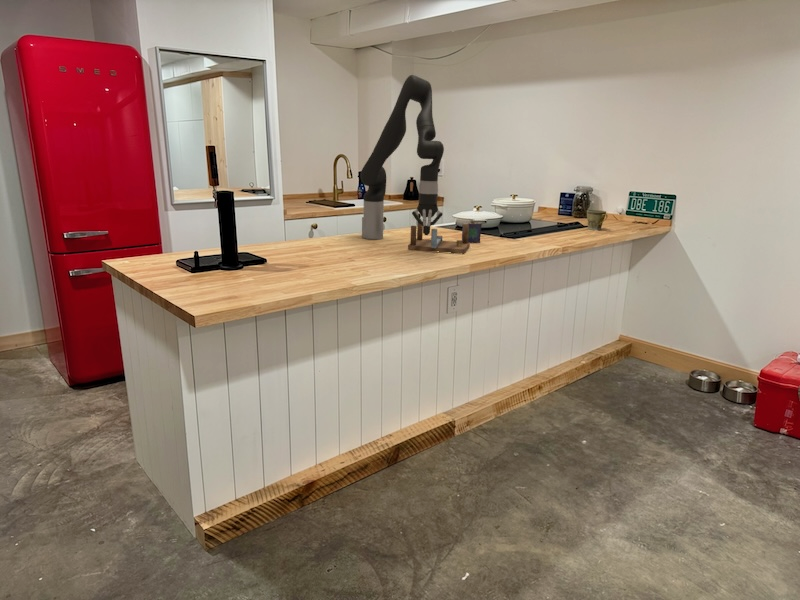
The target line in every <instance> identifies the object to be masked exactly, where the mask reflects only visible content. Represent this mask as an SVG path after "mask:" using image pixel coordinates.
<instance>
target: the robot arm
mask: <svg viewBox="0 0 800 600" xmlns="http://www.w3.org/2000/svg"><path fill="white" fill-rule="evenodd" d="M410 100H411V101H414V102H416V103H419V105H420V108H421V109H420V112H419V113H418V114H417V117H416V121H415V123H416V124H415V125H416V131H417V136H418V138H417V139H418V140H417V146H416V154H417V156H418V158H420V159H422V160H432V161H431V163H429V164H426V165H422V166H421V167H420V173H419V174H420V175H419V176H420V177H419V185H418V204H417V205H418V206H417V208H416V209H415V210H412V212H411V214H412V216H413V218H415V220H416V221H417V224H418V223H419V224H421V225H423V235H424V236H428V235H429V234H431V226H434V225H436V223H437V222H438V221H439V220H440V218H442V216H443V212H441V211H440V210H439V207H438V197H439V196H438V193H439V183H438V181H439V178H438V177H439V169H440V165H441V161H442V158H443V155H444V151H445V147H444V144H443V143H442V141H440V140H434V139H435V138H436V134H437V132H436V129H435V128H436V126H435V123H434V118H433V89H432V84H431V83H430V81H428V80H427V79H423V78H421V77H419V76H417V75H414V74H411V75H408V76H407V78H406V79H405V80H404V82H403V84H402V87H401V90H400V92H399V95H398V97H397V100H396V102H395V104H394V107H393V109H392V112H391V113H390V115H389V118H388V120H387V122H386V124H385V125H384V127H383V129H382V131H381V134H380V136H379V138H378V140H377V142H376V144H375V146H374V149H373V151H372V152H371V153H370V155H369V157H368V159H367V161H366V162H365V163H364V165H363V167H362V168H361V171H360V182H361V183H362V184H363V185H364V186H366V187H367V188H368V189H367V191H366V192H365V193H364V194H363V217H361V238H362V239H366V240H381V239H384V211H385V210H384V208H385V207H384V204H385V203H384V198H385V195H386V190H387V171H386V169H385V167H383V166H384V164H385V162H386V161H387V159H388V158H390V156H392V155H393V153H394V152H395V151H396V150H397V148H399V147H400V145H401V143H402V141H403V139H404V137H405V135H406V133H407V118H406V117H407V116H406V112H407V108H408V105H409V103H410ZM435 214H436V217H435V218H434V219H433V220H432V218H433V217H434V216H435ZM419 215H420V216H421V217H422V219H421V218H420V217H419Z"/></svg>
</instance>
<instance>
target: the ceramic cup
mask: <svg viewBox="0 0 800 600" xmlns="http://www.w3.org/2000/svg"><path fill="white" fill-rule="evenodd" d="M586 218H587V230H588V229H589V231H595V230H599V231H601V230H602V226H603V223H604V221H606V220H607V219H608V214H607V211H606V210H600V209H587V210H586Z"/></svg>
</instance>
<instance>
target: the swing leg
mask: <svg viewBox="0 0 800 600" xmlns="http://www.w3.org/2000/svg"><path fill="white" fill-rule="evenodd" d="M430 235H431V236H430V240H431V248H436V247H437V246H438V245H439V243H440V242H441V241H443V235H438V228H431V229H430Z"/></svg>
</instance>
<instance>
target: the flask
mask: <svg viewBox="0 0 800 600" xmlns="http://www.w3.org/2000/svg"><path fill="white" fill-rule="evenodd" d="M464 224H467V225H469V233H468V243H470V244H479V243H481V236H482V235H481V233H482V224H483V223H481V222H478V221H474V219H473V218H472V219H470V221H469V222H466V223H463V222H462V226H463V225H464ZM461 240H462V241H463V227H462V230H461Z"/></svg>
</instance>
